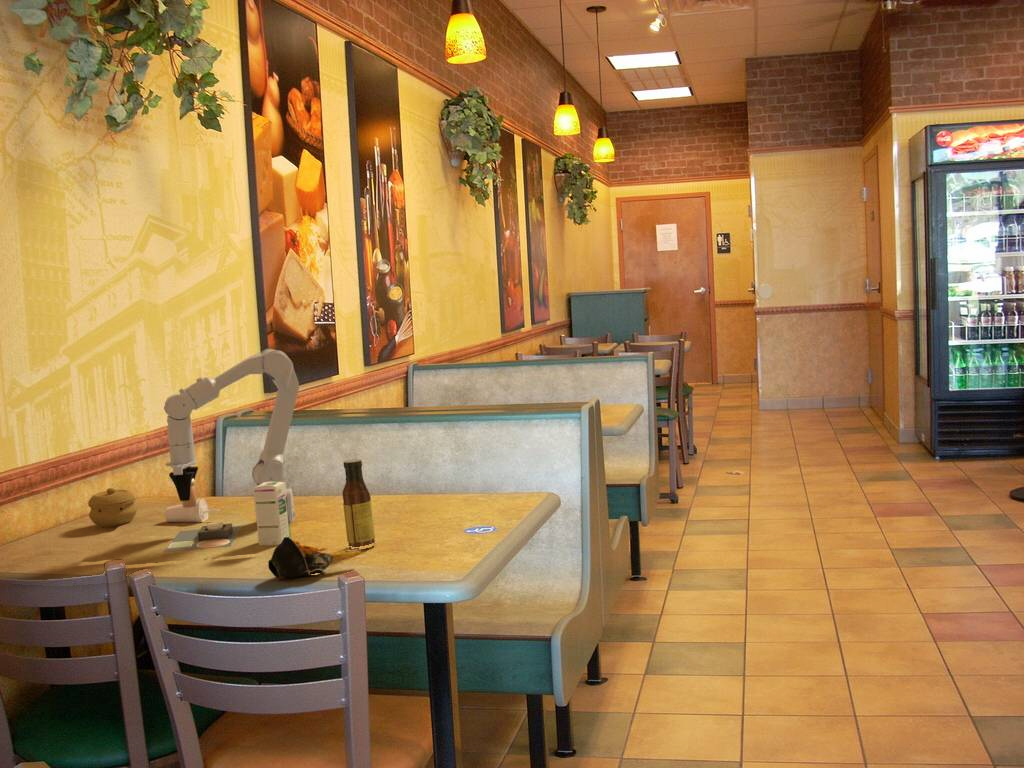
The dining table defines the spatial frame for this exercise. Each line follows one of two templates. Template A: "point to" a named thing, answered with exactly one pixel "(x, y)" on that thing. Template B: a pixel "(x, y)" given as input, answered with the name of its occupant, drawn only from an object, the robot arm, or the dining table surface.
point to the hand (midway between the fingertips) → (186, 498)
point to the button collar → (215, 533)
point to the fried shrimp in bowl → (303, 559)
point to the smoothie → (188, 512)
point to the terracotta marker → (192, 497)
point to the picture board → (190, 541)
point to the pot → (112, 508)
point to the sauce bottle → (357, 506)
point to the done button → (215, 526)
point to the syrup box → (272, 512)
